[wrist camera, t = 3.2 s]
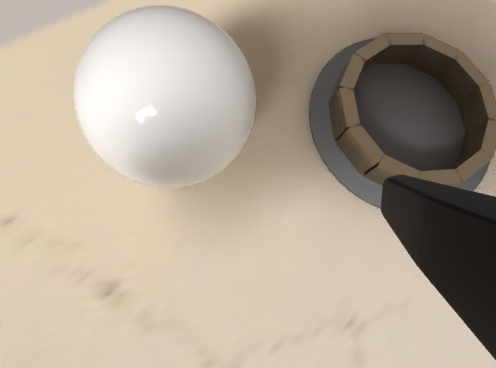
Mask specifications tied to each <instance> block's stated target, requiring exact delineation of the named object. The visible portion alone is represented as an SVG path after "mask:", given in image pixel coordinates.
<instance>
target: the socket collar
mask: <svg viewBox="0 0 496 368" xmlns="http://www.w3.org/2000/svg"><path fill="white" fill-rule="evenodd" d="M459 53H460V50H458V49H456V48H454V47H452V46H450V45H448V44H446V43H443V42H441V41H439V40H437V39H435V38H433V37H431V36H428V35H426V34H425V35H424V36H423V33H386V35H384V34H383V35H382V36H380V37H378V38H377V39H375V40H373V41H372V42H370V43H368V44H367V45H365V46H363V47H362V48H360V49H358V50H357V51H355V52H354V53H353V55H352V56H351V58H350V60H349V61H348V63H347V64H346V66H345V67H344V69H343V70H342V72H341V74H340V76H339V79H338V81H337V83H336V85H335V88H334V90H333V92H332V95H331V97H330V99H329V104H328V107H329V113H330V119H331V125H332V131H333V136H334V141H337V142H336V145H337V146H338V147H339V148H340V150H341V151H342V152H343V153H344V155H345V156H346V157H347V159H348V160H349V161H350V162H351V164H352V165H353V166H354V167H355V169H356V170H357V171H358V173H359V174H360V175H361V174H362V173H364V174H363V177H364V178H366V179H369V180H371V181H373V182H375V183H377V184H379V185H381V186H383V181H384V180H385V179H386V178H387V177H391V176H395V175H399V174H403V175H407V176H411V177H415V178H419V179H424V180H428V181H432V182H436V183H440V184H444V185H448V186H455V185H458V184H460V183H462V182H465V181H466V180H467V179H468V178H469V177H471V176H472V175H473V174H474V173H476V172H477V171H478V170H479V169H481V168H482V167H483V166H484V165H485V164H487V163H488V162H489V161H490V160H492V159H491V158H492V157H493V156H494V152H495V148H496V100H495V97H494V94H493V90H492V87H491V84H487V83H488V82H489V81H488V80H487V79H486V78H485V76H484V75H483V74H482V73H481V72H480V71H479V70H478V69H477V68H476V66H475V65H474V64H473V63H472V62H471V61H470V60H469V59H468V58H467V56H466V55H465V54H464V53H463V52H462V53H461V54H459ZM375 64H408V65H410V66H412V67H414V68H416V69H418V70H421V71H423V72H425V73H427V74H429V75H431V76H433V77H436V79H437V80H438V81H439V82H440V83H441V84H442V86H443V87H444V88H445V89H446V90H447V91H448V92H449V94H450V95H451V96H452V97H453V98H454V99H455V100H456V102H457V104H458V107H459V111H460V115H461V118H462V122H463V126H464V129H465V136H464V139H463V143H462V147H461V150H460V154H459V157H458V161H457V162H456V163H454V164H453V165H452V166H450V167H449V168H448V169H447V170H432V171H419V170H417V169H415V168H413V167H410V166H408V165H406V164H404V163H402V162H400V161H398V160H396V159H393V158H391V157H389V156H387V155H385V154H384V153H383V152H382V150H381V149H380V148H379V147H378V145H377V144H376V143H375V142H374V140H373V139H372V138H371V137H370V136H369V134H368V133H367V132H366V131H365V129H364V128H363V127H362V126H361V124H360V120H359V115H358V110H357V105H356V100H355V95H354V90H353V89H354V87H355V84H356V82H357V80H358V77H359V75H360V74H361V73H363V72H364V71H366V70H367V69H369V68H371V67H372V66H374V65H375Z"/></svg>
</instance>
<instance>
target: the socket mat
mask: <svg viewBox="0 0 496 368" xmlns="http://www.w3.org/2000/svg"><path fill="white" fill-rule="evenodd" d="M376 39H377V38H376ZM373 40H375V39H370V40H365V41H361V42H358V43H356V44H353V45H351V46H349V47H347V48H345V49H344V50H342V51H341V52H339V53H338V54H336V55H335V56H334V57H333V58H332V59H331V60H330V61H329V62H328V63H327V65H326V66H325V67H324V69H323V70H322V72H321V74H320V75H319V77H318V79H317V81H316V83H315V86H314V88H313V91H312V95H311V100H310V110H309V117H310V127H311V131H312V136H313V139H314V142H315V145H316V147H317V150H318V152H319V154H320V156H321V158H322V160H323V161H324V163H325V164H326V166H327V167H328V169H329V170H330V172H331V173H332V174H333V175H334V176H335V177H336V178H337V180H338V181H339V182H340V183H341V184H342V185H344V186H345V187H346V188H347V189H348V190H349V191H350V192H352V193H353V194H355V195H356V196H357V197H359V198H360V199H362V200H364V201H366V202H368V203H370V204H371V205H374V206H376V207H379V208H381V196H382V186H381V185H379V184H377V183H375V182H373V181H371V180H369V179H366V178H364V177H363V174H364V173H362V174H361V175H360V174H359V173H358V171H357V170H356V169H355V167H354V166H353V165H352V164H351V162H350V161H349V160H348V159H347V157H346V156H345V155H344V153H343V152H342V151H341V150H340V148H339V147H338V146H337V145H336V142H337V141H334V136H333V131H332V125H331V119H330V113H329V107H328V104H329V99H330V97H331V95H332V92H333V90H334V88H335V85H336V83H337V81H338V79H339V76H340V74H341V72H342V70H343V69H344V67H345V66H346V64H347V63H348V61H349V60H350V58H351V56H352V55H353V53H354V52H355V51H357V50H358V49H360V48H362V47H363V46H365V45H367V44H368V43H370V42H372V41H373ZM353 90H354V95H355V100H356V105H357V110H358V115H359V120H360V124H361V126H362V127H363V128H364V129H365V131H366V132H367V133H368V134H369V136H370V137H371V138H372V139H373V140H374V142H375V143H376V144H377V145H378V147H379V148H380V149H381V150H382V152H383V153H384V154H385V155H387V156H389V157H391V158H393V159H396V160H398V161H400V162H402V163H404V164H406V165H408V166H410V167H413V168H415V169H417V170H419V171H432V170H447V169H448V168H449V167H450V166H452V165H453V164H454V163H456V162H457V161H458V157H459V154H460V150H461V147H462V143H463V139H464V136H465V129H464V126H463V122H462V118H461V115H460V111H459V107H458V104H457V102H456V100H455V99H454V98H453V97H452V96H451V95H450V94H449V92H448V91H447V90H446V89H445V88H444V87H443V86H442V84H441V83H440V82H439V81H438V80H437V79H436V77H433V76H431V75H429V74H427V73H425V72H423V71H421V70H418V69H416V68H414V67H412V66H410V65H408V64H375V65H374V66H372V67H371V68H369V69H367V70H366V71H364V72H363V73H361V74H360V75H359V77H358V80H357V82H356V84H355V87H354V89H353ZM489 163H490V161H489V162H488V163H487V164H485V165H484V166H483V167H482V168H481V169H479V170H478V171H477V172H476V173H474V174H473V175H472V176H471V177H469V178H468V179H467V180H466V181H465V182H462V183H460V184H458V185H455V186H453V187H457V188H461V189H465V190H469V191H474V190H475V189H476V188H477V186H478V185H479V183H480V182H481V181H482V179H483V177H484V175H485V173H486V171H487V169H488V166H489Z"/></svg>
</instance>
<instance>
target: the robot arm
mask: <svg viewBox="0 0 496 368" xmlns="http://www.w3.org/2000/svg"><path fill="white" fill-rule="evenodd" d="M381 212H382V214H383V216H384V218H385V219H386V221H387V222H388V224H389V225H390V227H391V228H392V230H393V231H394V233H395V234H396V236H397V237H398V239H399V240H400V242H401V243H402V245H403V246H404V248H405V249H406V251H407V252H408V254H409V255H410V256H411V258H412V259H413V261H414V262H415V263H416V265H417V266H418V267H419V268H420V270H421V271H422V272H423V273H424V275H425V276H426V277H427V278H428V279H429V281H430V282H431V283H432V284H433V285H434V287H435V288H436V289H437V290H438V291H439V293H440V294H441V295H442V296H443V297H444V299H445V300H446V301H447V302H448V303H449V305H450V306H451V307H452V308H453V310H454V311H455V312H456V313H457V314H458V316H459V317H460V318H461V319H462V320H463V322H464V323H465V324H466V325H467V326H468V328H469V329H470V330H471V331H472V332H473V334H474V335H475V336H476V337H477V338H478V340H479V341H480V342H481V343H482V344H483V346H484V347H485V348H486V349H487V350H488V352H489V353H490V354H491V355H492V356H493V358H494V359H495V360H496V197H494V196H490V195H486V194H482V193H478V192H473V191H469V190H465V189H461V188H457V187H453V186H448V185H444V184H440V183H436V182H432V181H428V180H424V179H419V178H415V177H411V176H407V175H403V174H399V175H395V176H391V177H387V178H386V179H385V180H384V181H383V186H382V196H381Z"/></svg>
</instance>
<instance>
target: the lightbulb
mask: <svg viewBox="0 0 496 368" xmlns="http://www.w3.org/2000/svg"><path fill="white" fill-rule="evenodd" d="M73 103H74V110H75V114H76V118H77V121H78V124H79V127H80V129H81V132H82V134H83V136H84V138H85V139H86V141H87V143H88V144H89V146H90V147H91V149H92V150H93V151H94V153H95V154H96V155H97V156H98V157H99V158H100V159H101V160H102V161H103V162H104V163H105V164H106V165H107V166H108V167H109V168H111V169H112V170H113V171H115V172H116V173H118V174H119V175H121V176H123V177H125V178H127V179H129V180H131V181H133V182H136V183H138V184H141V185H145V186H149V187H154V188H163V189H175V188H186V187H189V186H193V185H196V184H199V183H202V182H204V181H206V180H208V179H210V178H212V177H214V176H215V175H217V174H219V173H220V172H221V171H223V170H224V169H225V168H226V167H227V166H229V165H230V164H231V163H232V162H233V160H234V159H235V158H236V157H237V156H238V154H239V153H240V152H241V150H242V149H243V147H244V145H245V143H246V141H247V139H248V137H249V135H250V132H251V129H252V126H253V122H254V118H255V111H256V91H255V84H254V80H253V76H252V73H251V70H250V67H249V65H248V62H247V60H246V58H245V56H244V54H243V53H242V51H241V49H240V48H239V47H238V45H237V44H236V43H235V41H234V40H233V39H232V38H231V37H230V36H229V34H228V33H227V32H225V31H224V30H223V29H222V28H221V27H220V26H218V25H217V24H216V23H214V22H213V21H211V20H210V19H208V18H206V17H205V16H203V15H201V14H199V13H196V12H194V11H191V10H188V9H185V8H181V7H176V6H168V5H153V6H145V7H140V8H136V9H133V10H130V11H127V12H125V13H122V14H120V15H118V16H117V17H115V18H113V19H112V20H110V21H109V22H107V23H106V24H105V25H104V26H102V27H101V28H100V29H99V30H98V31H97V32H96V33H95V34H94V36H93V37H92V38H91V39H90V41H89V42H88V44H87V45H86V47H85V49H84V50H83V52H82V54H81V56H80V59H79V61H78V64H77V67H76V71H75V76H74V82H73Z"/></svg>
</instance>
